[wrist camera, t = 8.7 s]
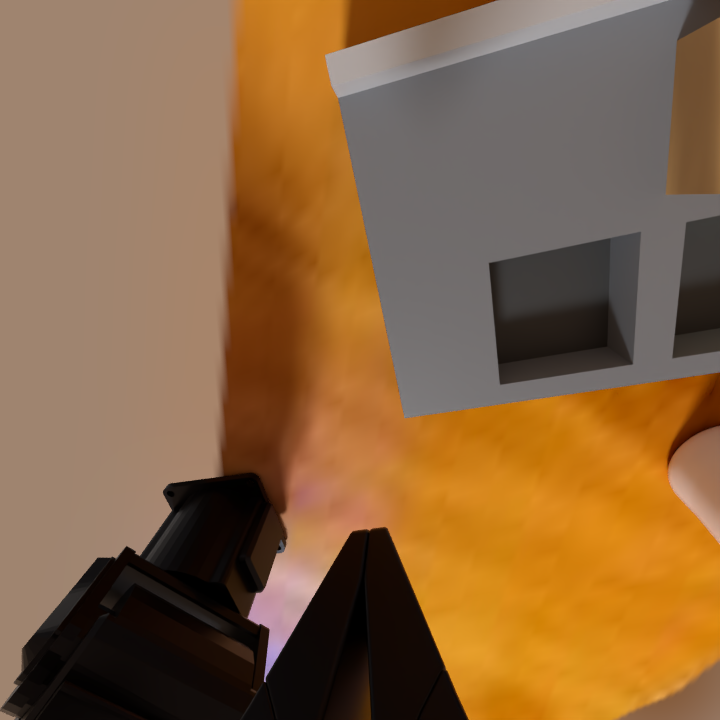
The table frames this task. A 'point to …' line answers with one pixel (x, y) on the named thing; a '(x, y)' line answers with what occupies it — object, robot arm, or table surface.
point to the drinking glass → (699, 477)
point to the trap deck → (531, 201)
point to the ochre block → (696, 114)
